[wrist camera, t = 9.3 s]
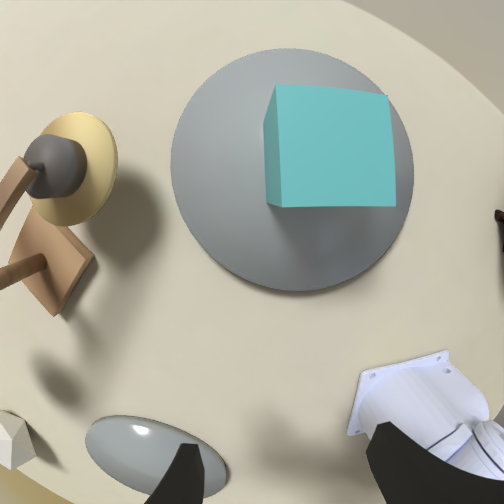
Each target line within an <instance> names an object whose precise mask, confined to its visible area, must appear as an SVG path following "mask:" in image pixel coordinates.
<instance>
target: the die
mask: <svg viewBox="0 0 504 504" xmlns="http://www.w3.org/2000/svg"><path fill="white" fill-rule="evenodd" d="M34 457H36V453H35V450H34V447H33V445H32V442H31V439H30V436H29V433H28V429H27V426H26V423H25V420H24V419H22V418H19V417H17V416H15V415H13V414H10V413H8V412H6V411H4V410H0V464H2V465H3V466H5V467H7V468H8V469H10V470H12V469H15V468H17V467H18V466H20V465H22V464H24V463H26V462H27V461H29V460H31V459H33V458H34Z"/></svg>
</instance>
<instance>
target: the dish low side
mask: <svg viewBox="0 0 504 504" xmlns="http://www.w3.org/2000/svg"><path fill="white" fill-rule="evenodd" d="M275 84H288V85H309V86H322V87H333V88H342V89H350V90H358V91H365V92H371V93H377V94H382V95H385V94H384V93H383V92H382V91H381V90H380V89H379V87H378V86H376V85H375V84H374V83H373V82H372V81H371V80H370V79H369V78H368V77H367V76H365V75H364V74H362V73H361V72H360V71H358V70H357V69H355V68H354V67H352V66H350V65H348V64H347V63H345V62H343V61H341V60H339V59H336V58H334V57H331V56H329V55H326V54H322V53H318V52H314V51H310V50H302V49H273V50H265V51H261V52H257V53H253V54H250V55H247V56H245V57H242V58H240V59H237V60H235V61H233V62H231V63H230V64H228V65H226V66H225V67H223V68H221V69H220V70H218V71H217V72H216V73H215V74H213V75H212V76H211V77H210V78H208V79H207V80H206V81H205V82H204V83H203V85H202V86H201V87H200V88H199V89H198V90H197V91H196V92H195V94H194V95H193V97H192V98H191V99H190V101H189V102H188V104H187V105H186V107H185V109H184V111H183V113H182V115H181V117H180V119H179V122H178V125H177V128H176V131H175V134H174V139H173V144H172V150H171V178H172V186H173V190H174V194H175V198H176V202H177V205H178V207H179V210H180V212H181V215H182V217H183V219H184V221H185V223H186V225H187V226H188V228H189V230H190V232H191V233H192V235H193V236H194V237H195V239H196V240H197V241H198V243H199V244H200V245H201V247H202V248H203V249H204V250H205V251H206V252H207V253H208V254H209V255H210V256H211V257H212V258H213V259H214V260H216V261H217V262H218V263H220V264H221V265H222V266H224V267H225V268H226V269H227V270H229V271H231V272H233V273H234V274H236V275H238V276H239V277H241V278H243V279H246V280H248V281H251V282H253V283H255V284H258V285H262V286H265V287H269V288H273V289H280V290H287V291H308V290H315V289H322V288H326V287H329V286H333V285H337V284H339V283H341V282H344V281H346V280H348V279H351V278H352V277H354V276H356V275H358V274H359V273H361V272H363V271H364V270H365V269H367V268H368V267H369V266H371V265H372V264H373V263H374V262H376V261H377V260H378V259H379V258H380V257H381V256H382V255H383V254H384V252H385V251H386V250H387V249H388V248H389V246H390V245H391V244H392V242H393V241H394V240H395V238H396V236H397V235H398V233H399V231H400V229H401V228H402V226H403V223H404V221H405V218H406V216H407V213H408V210H409V207H410V203H411V199H412V193H413V185H414V164H413V155H412V150H411V146H410V142H409V138H408V135H407V133H406V130H405V127H404V125H403V123H402V121H401V119H400V117H399V115H398V113H397V111H396V110H395V108H394V106H393V105H392V103H391V102H390V101H389V99H388V101H389V109H390V116H391V125H392V135H393V146H394V160H395V182H396V207H394V206H315V207H279V206H276V205H273V204H270V203H267V202H266V184H265V161H264V140H263V121H264V118H265V115H266V112H267V109H268V106H269V102H270V99H271V96H272V93H273V90H274V87H275Z"/></svg>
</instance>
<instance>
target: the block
mask: <svg viewBox="0 0 504 504" xmlns="http://www.w3.org/2000/svg"><path fill="white" fill-rule="evenodd" d="M263 140H264V161H265V184H266V202H267V203H270V204H273V205H276V206H279V207H315V206H394V207H396V182H395V160H394V146H393V135H392V125H391V116H390V109H389V101H388V95H382V94H377V93H371V92H365V91H358V90H350V89H342V88H333V87H322V86H309V85H288V84H275V87H274V90H273V93H272V96H271V99H270V102H269V106H268V109H267V112H266V115H265V118H264V121H263Z"/></svg>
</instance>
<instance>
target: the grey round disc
mask: <svg viewBox="0 0 504 504" xmlns="http://www.w3.org/2000/svg"><path fill="white" fill-rule="evenodd" d="M182 443H191V444H198V446H199V450H200V454H201V458H202V461H203V465H204V469H205V484H204V496H203V498H206V497H209V496H212V495H214V494H216V493H218V492H219V491H220V490H221V489H222V488H223V487H224V485H225V482H226V466H225V463H224V461H223V459H222V458H221V456H220V455H219V454H218V453H217V452H216V451H215V450H214V449H213V448H212V447H210V446H209V445H208V444H206V443H205V442H203V441H202V440H200V439H198V438H197V437H195V436H193V435H191V434H189V433H187V432H185V431H182V430H180V429H178V428H175V427H173V426H170V425H167V424H164V423H161V422H158V421H154V420H150V419H146V418H141V417H135V416H125V415H115V416H107V417H103V418H101V419H99V420H97V421H95V422H94V423H93V424H92V426H91V427H90V429H89V431H88V433H87V435H86V438H85V444H86V448H87V451H88V453H89V454H90V456H91V458H92V459H93V460H94V462H95V463H96V464H97V465H98V466H99V467H100V468H101V469H102V470H103V471H104V472H106V473H107V474H108V475H110V476H111V477H112V478H114V479H115V480H117V481H119V482H120V483H122V484H124V485H126V486H128V487H130V488H132V489H134V490H137V491H139V492H142V493H145V494H148V495H151V494H152V493H153V491H154V490H155V489H156V487H157V486H158V484H159V483H160V481H161V479H162V478H163V476H164V475H165V473H166V471H167V470H168V468H169V466H170V464H171V463H172V461H173V459H174V457H175V455H176V453H177V451H178V448H179V446H180V444H182Z"/></svg>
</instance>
